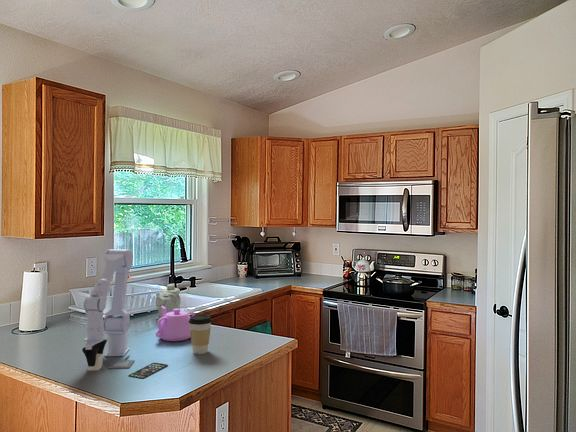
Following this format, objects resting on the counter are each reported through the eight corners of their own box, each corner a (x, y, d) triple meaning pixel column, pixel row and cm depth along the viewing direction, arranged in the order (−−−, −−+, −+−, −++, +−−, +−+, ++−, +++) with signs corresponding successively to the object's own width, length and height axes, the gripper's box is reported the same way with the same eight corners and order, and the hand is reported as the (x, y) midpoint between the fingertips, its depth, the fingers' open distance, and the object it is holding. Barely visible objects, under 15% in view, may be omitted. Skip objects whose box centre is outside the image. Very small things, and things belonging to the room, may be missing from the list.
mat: (114, 361, 178) (114, 360, 178) (134, 361, 178) (134, 360, 178) (107, 368, 170) (107, 367, 170) (129, 368, 170) (129, 367, 170)
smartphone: (126, 375, 163) (153, 362, 176) (126, 377, 163) (153, 364, 176) (143, 378, 160) (169, 364, 174) (143, 380, 160) (169, 366, 174)
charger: (91, 366, 172) (91, 353, 172) (102, 366, 172) (102, 353, 172) (87, 370, 168) (87, 357, 168) (98, 370, 168) (98, 356, 168)
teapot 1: (157, 322, 238) (157, 287, 237) (148, 317, 250) (148, 283, 250) (186, 318, 247) (186, 285, 247) (176, 313, 260) (176, 281, 259)
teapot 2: (179, 328, 228) (179, 301, 227) (206, 336, 213) (206, 307, 213) (140, 337, 211) (140, 308, 211) (166, 347, 197) (167, 316, 196)
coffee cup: (203, 346, 197) (203, 313, 197) (216, 351, 190) (216, 317, 190) (184, 351, 191) (184, 316, 190) (196, 357, 184) (196, 321, 183)
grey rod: (127, 356, 184) (127, 354, 184) (129, 356, 184) (129, 354, 184) (123, 360, 179) (123, 359, 179) (125, 360, 179) (125, 359, 179)
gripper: (91, 322, 177) (91, 356, 177) (76, 332, 162) (76, 369, 163) (109, 322, 177) (109, 356, 178) (96, 332, 163) (96, 369, 163)
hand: (95, 362), depth 170 cm, fingers open, 7 cm apart
